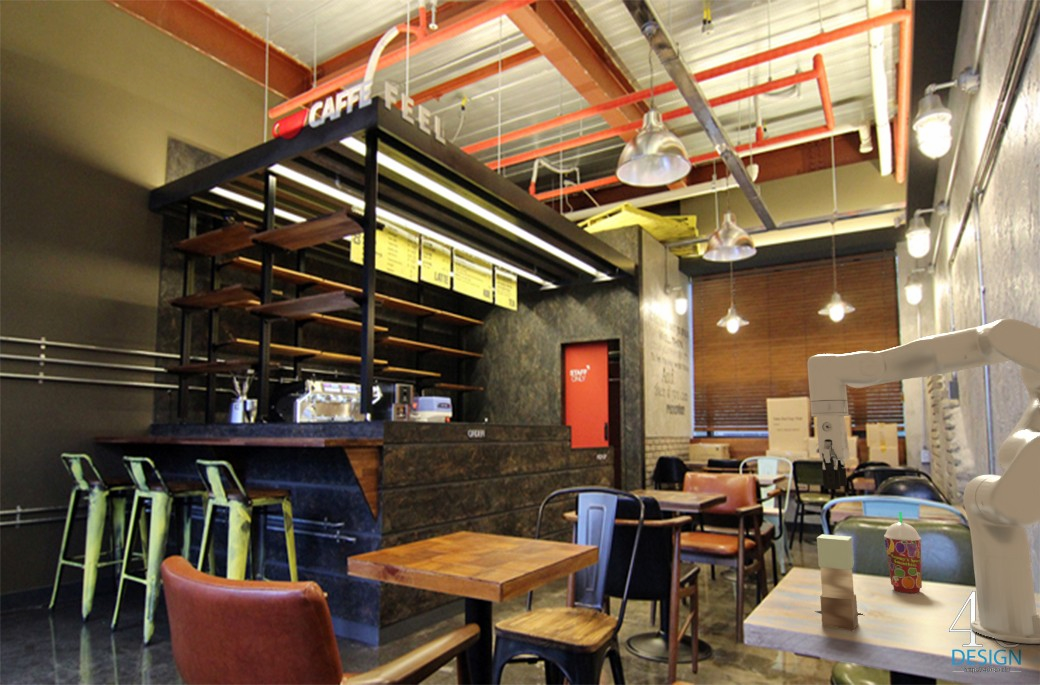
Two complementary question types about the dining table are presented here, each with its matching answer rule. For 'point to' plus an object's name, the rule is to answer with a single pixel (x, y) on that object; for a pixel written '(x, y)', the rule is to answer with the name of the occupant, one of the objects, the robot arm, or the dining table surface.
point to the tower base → (839, 612)
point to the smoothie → (904, 557)
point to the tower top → (837, 583)
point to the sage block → (835, 551)
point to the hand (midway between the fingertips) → (835, 487)
